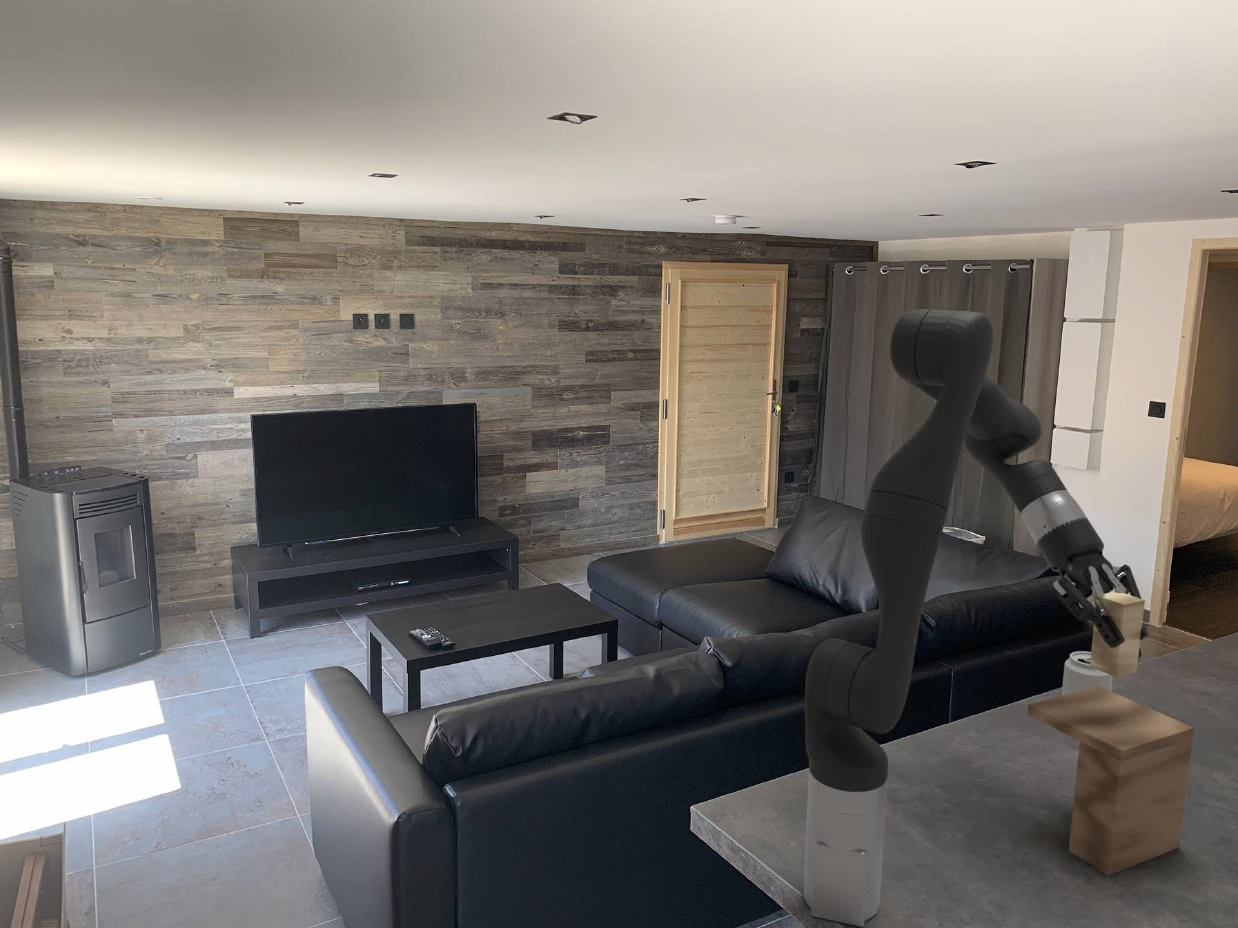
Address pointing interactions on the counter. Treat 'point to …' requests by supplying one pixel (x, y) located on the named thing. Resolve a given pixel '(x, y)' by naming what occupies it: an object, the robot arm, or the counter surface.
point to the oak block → (1129, 623)
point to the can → (1083, 674)
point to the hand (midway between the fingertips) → (1130, 641)
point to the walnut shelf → (1122, 776)
